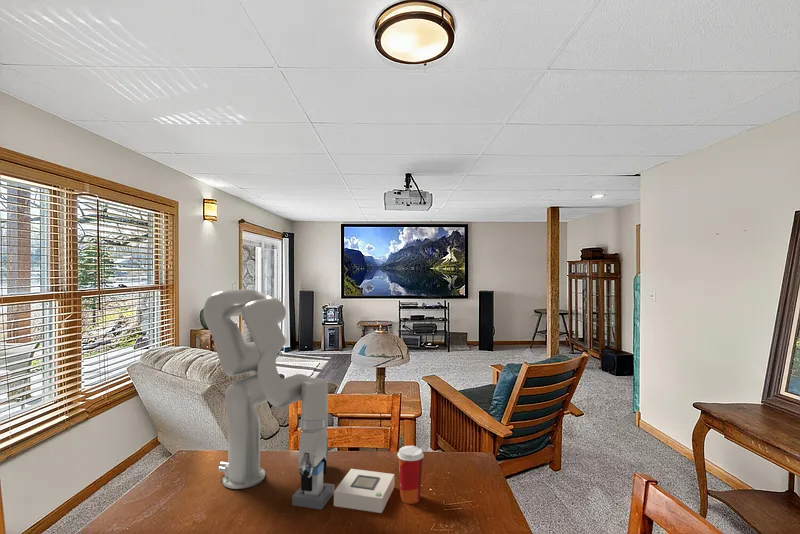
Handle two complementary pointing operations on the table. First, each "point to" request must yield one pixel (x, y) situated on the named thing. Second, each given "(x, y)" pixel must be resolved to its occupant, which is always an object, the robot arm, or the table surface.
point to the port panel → (364, 490)
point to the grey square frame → (313, 498)
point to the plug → (316, 480)
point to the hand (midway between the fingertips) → (314, 481)
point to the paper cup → (410, 473)
